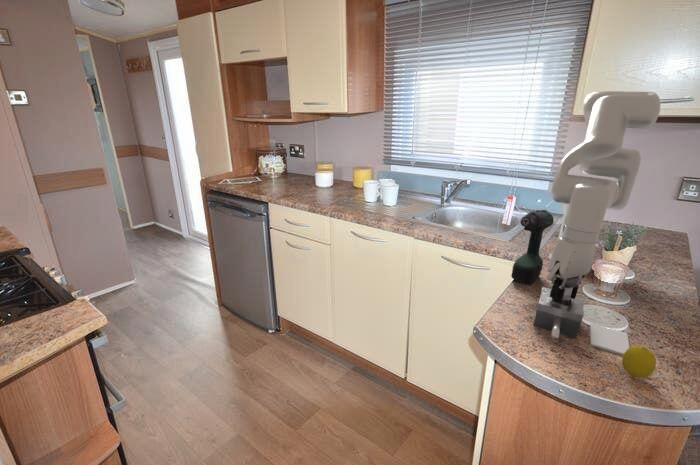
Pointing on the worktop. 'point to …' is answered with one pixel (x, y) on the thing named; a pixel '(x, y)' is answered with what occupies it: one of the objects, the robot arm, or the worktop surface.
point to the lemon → (639, 361)
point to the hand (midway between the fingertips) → (562, 297)
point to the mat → (608, 339)
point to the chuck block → (559, 315)
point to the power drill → (532, 247)
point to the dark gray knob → (568, 289)
